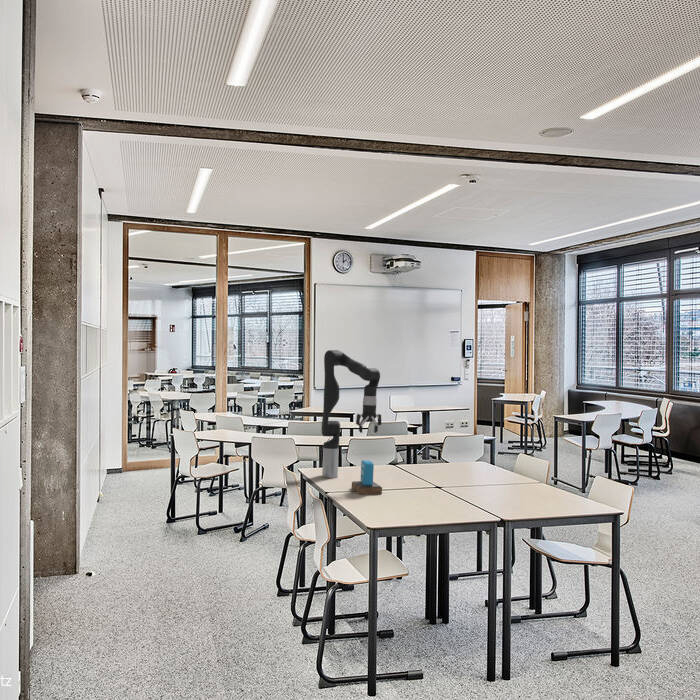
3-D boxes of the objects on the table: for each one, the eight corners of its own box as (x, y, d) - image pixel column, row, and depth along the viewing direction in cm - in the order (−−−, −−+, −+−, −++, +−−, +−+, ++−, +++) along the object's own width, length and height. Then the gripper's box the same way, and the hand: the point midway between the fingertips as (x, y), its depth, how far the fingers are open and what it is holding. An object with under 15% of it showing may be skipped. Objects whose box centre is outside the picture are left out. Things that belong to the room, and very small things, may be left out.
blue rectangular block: (360, 481, 351) (361, 459, 351) (368, 481, 352) (369, 459, 352) (364, 486, 339) (365, 463, 339) (372, 486, 340) (373, 463, 340)
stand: (351, 488, 351) (351, 481, 351) (372, 487, 354) (372, 480, 354) (360, 494, 336) (360, 487, 336) (381, 494, 340) (382, 486, 340)
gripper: (359, 404, 352) (358, 433, 352) (383, 404, 356) (382, 433, 357) (355, 402, 359) (354, 431, 359) (379, 403, 363) (377, 431, 364)
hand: (368, 432), depth 358 cm, fingers open, 8 cm apart
